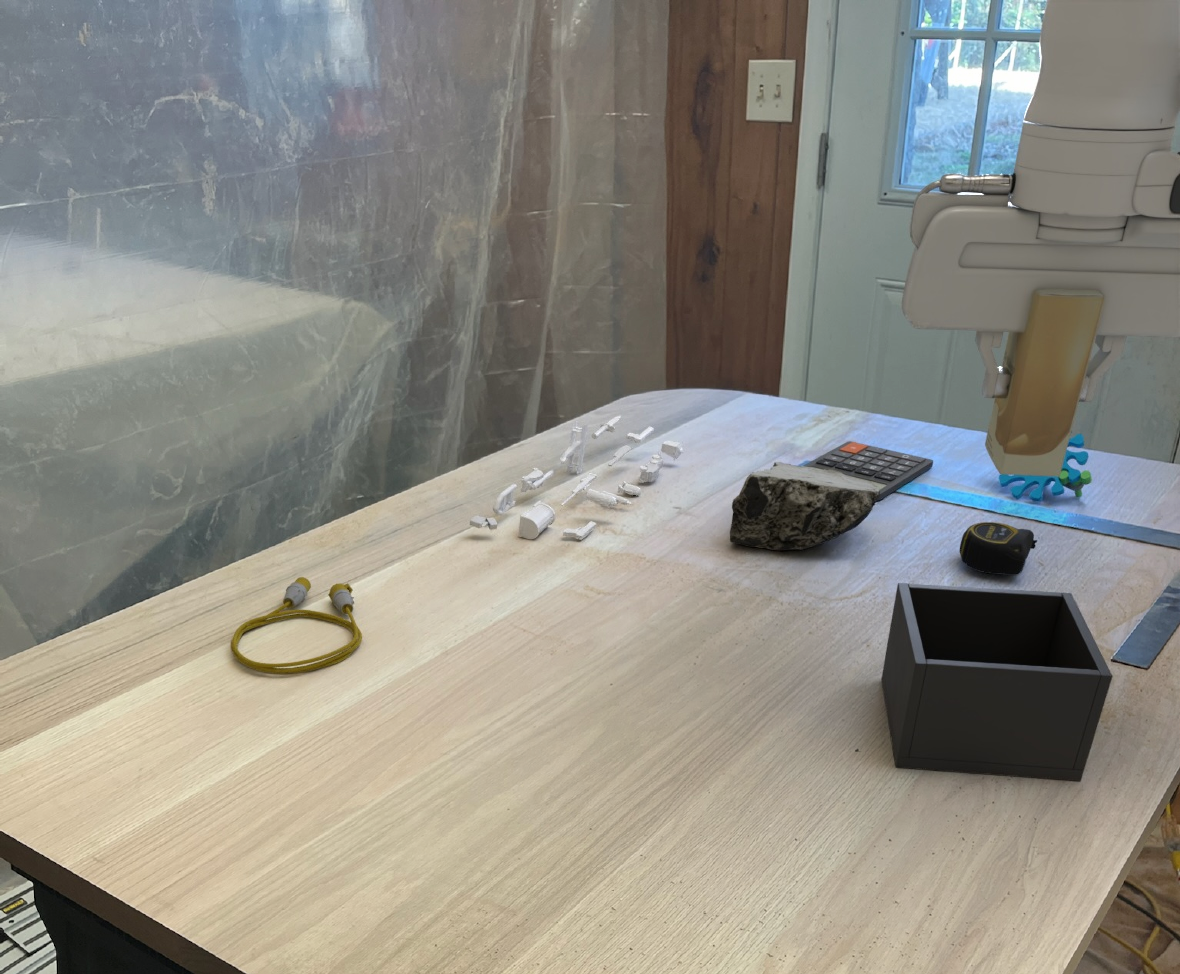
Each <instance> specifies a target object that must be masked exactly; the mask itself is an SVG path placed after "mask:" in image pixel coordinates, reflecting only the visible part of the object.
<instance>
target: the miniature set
mask: <svg viewBox="0 0 1180 974" xmlns="http://www.w3.org/2000/svg"><path fill="white" fill-rule="evenodd" d="M621 417H622V415H621V414H620V415H616V416H615V417H613V418H611V419H610V420H608V421H607V422H606V423H600V428H599V429H598V430H596V431H595V432H593V433H592V434H591V438H592V439H593V440H597V438H598V437H600V436H601V435H602V434H604V433H605V432H608V433H609V432H610V433H614V432H615V431H616V427H615V426H614V425H616V424H617V423H618V422H619V420H620V419H621ZM578 422H579V421H578V420H575V421H574V422H573V424H572V425H571V432H570V440H569V446H568V448H567V449H566V450H565V451H564V452H563V453H562V454H561V456H560V458H559V461H561V465H562V464H565V461H567V468H566V473H568V472H572V469H576V475H579V474H581V473H582V471H583V464H584V458H585V449H586V442H587V441H586V440H587V433H588V425H589V424H588V423H589V422H586V423H584V425H582V427H579V426H578ZM653 432H655V428H654V427H652V426H648V427H647V428H646V429H644V430H643V431H642V432H640V433H633V432H628V433H627V434H626V438H625V439H626V440H627V441H632V442H633V444H640V443H641V442H643V441H644V440H645V439H647V437H648V436H649V435H651V434H652V433H653ZM577 433H580V440H576V439H577ZM633 448H634V447H633V446H631V445H627V444H625V445H623V446H621V447H620V448H619V449H617V451H615V453H614V454H612V456H613V457H614V458H613V459H612V460H611V461H610V462H609V463H608V464H607V466H608V467H612V466H614V465H615V464H616V463H617V462H618V461H619V460H620V459H622V458H623V457H624V456H625V455H626V454H627V453H629V452H630V451H631V450H633ZM577 452H578V459H577V463H575V462H574V457H575V453H577ZM661 453H663V454H665V455H667V456H669V457H671V458H673V462H675V461H676V460H678V458H679V457H680V456H681V455H682V454H684V449H683V440H682V441H680V442H678V441H673V440H664V441H663V442H662V444H661V449H660V452H657V454H653V455H652V459H650V460H649V461H648V462H647V463H646V464H645V465H640V466H639V470H640V476H638V477H637V481H638V483H641V484H644V482H645V483H652V482H654V481H655V480H656V479H657V478H658V477H659V473H660V470H661V469H662V468H663V466H664V457H663V456H661ZM554 474H555V471H554V470H553V469H550V470H549V471H547V472H546V473H545V472H544V473H543V471H542V470H540V469H539V468H538V467H533V468H532V471H531V472H530V473H529V474H527V475H523V476H522V477H521V488H520V492H522V493H526V492H527V491H528V490H533V491H534V490H536V489H540V488H541V487H543V485H544V483H545V482H547V480H548V479H550V478H551V477H552V476H554ZM597 477H598V476H597V474H595V473H592V472H588V473H587V476H586V477H584V478H582V479H580V480H579V483H578V485H577V486H576V487H575V488H574V489H573V490H572V491H571V495H570V496H568V497H567V498H566V499H565V500H564V501H563V502H561V504H560V507H563V506H565V505H566V504H567V503H569V502H570V500H572V499H573V498H574V497H575V496H577V495H578V494H579V493H581V492H582V491H586V489H588V488H589V487H590V486H591V485H592V482H593V481H595V480H596V479H597ZM516 489H517V484H516V483H512V484H511V485H509V486H508V487H506V489H503V491H501V492H500V493H499V494H498V496H497V497H496V499H495V500H494V503H493V506H492V511H493V513H494V514H495V515H496V516H500V517H501V516H503V515H505V514H506V513H507V512H508V511H509V510H510V509H512V508H513V507H514V506H515V505H516V500H514V491H515V490H516ZM620 492H621V493H625V494H627V495H629V496H633V495H636V496H635V497H638V496H637V495H639V496H640V495H641V493H642V489H641V488H640V487H638V486H637V485H633V484H631V483H628V482H627V481H626V480H624V481H622V484H619V485H618V487H617V493H620ZM585 500H586V501H589V502H591V503H594V504H597V505H599V506H603V507H606V508H609V509H612V508H614V507H617V506H618V504H621V505H624V506H627V505H630V506H631V505H632V504H633V503H632V501H630V500H629V499H627V498H625V497H622V496H620V495H617V494H614V493H610V492H608V491H605V490H602V491H598V490H594V489H592V488H589V489H588V490H587V491H586V495H585ZM555 520H556V511H555V510H554V508H553V507H551V506H550V505H549V504H547V503H544V502H543V500H541V499H540V500H538V501H536V503H534V504H533V505H532V507H531V508H530V509H528V510H526V511H524V512H523V513H522V514H521V515H520V516H519V526H518V528H519V529H518V537H519V538H524V539H527V540H535V539H536V538H537V537H538V536H539V535H540V534H541V533H542V532H543V531H544V530H545V529H546V528H548V527H549V526H551V525H552V524H554V522H555ZM469 526H471V527H474V528H477V529H481V528H488V529H489V530H490V531H492V530H497V529H498V522H497V521H496V519H495V517H484V516H481V515H478V514H475V515H474V516H473V517H471V519H470V520H469ZM595 528H597V522H595V521H592V520H590V521H589V522H588V523H587V524H586V525H585V526H581V527H577V528H576V529H573V528H568V527H566V528H565V529H564V530H563V532H562V536H563V537H566V538H575V539H576V540H580V541H582V540H583V539H584V538H585V537H587V536H588V535H589V534H590V533H591V532H592V531H593V530H594V529H595Z"/></svg>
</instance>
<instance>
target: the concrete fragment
mask: <svg viewBox="0 0 1180 974" xmlns="http://www.w3.org/2000/svg"><path fill="white" fill-rule="evenodd" d="M879 493H880V488H879V487H877V486H876V485H874V484H873V483H871V482H870V481H866V480H862V479H858V478H853V477H851V476H847V475H844V474H843V473H842V472H840V471H836V470H831V469H823V470H819V469H816V468H810V467H804V466H803V465H795V464H791V463H786V462H785V463H784V462H782V461H776V462H774V463H773V465H772V466H771V467H770V469H768V468H767V469H763V470H757V471H754V472H751V473H749V474H748V476H747V477H746V479H745V481H744V483H743V486H742V487H741V489H740V492H739V494H738V495H737V496H735V497H734V498H733V500H732V504H731V509H732V516H731V523H730V530H729V541H730V543H732V544H736V545H740V546H745V547H749V548H750V547H751V548H758V549H764V548H765V549H768V550H772V551H791V550H800V551H802V550H805V549H808V548H812V547H814V546H818V545H821V544H824V543H826V542H829V541H831V540H833V539H835V538H838V537H839V536H841V535H843V534H846V533H848V532H851V531H853V530H854V529H855V528H856V527H859V525H860V524H862V523H863V522H864V520H865V519H866V518H868V516H869V515H870V513H871V512H872V510H873V508H874V506H875V504H876V503H877V501H878V500H877V499H878V497H879Z"/></svg>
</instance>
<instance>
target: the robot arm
mask: <svg viewBox="0 0 1180 974" xmlns="http://www.w3.org/2000/svg"><path fill="white" fill-rule="evenodd" d="M1039 33H1040V34H1039V57H1040V58H1039V59H1040V63H1039V64H1040V65H1039V72H1038V73H1039V74H1038V78H1037V82H1036V86H1035V89H1034V92H1033V94H1032V97H1031V98H1030V101H1029V103H1028V105H1027V107H1026V109H1025V113H1024V117H1023V121H1022V125H1021V126H1022V127H1021V132H1020V138H1019V143H1018V147H1017V148H1018V149H1017V153H1016V157H1015V158H1016V159H1015V163H1014V168H1013V173H1012V174H1007V173H1005V174H998V173H997V174H993V173H991V174H990V173H989V174H987V173H986V174H980V175H979V174H975V175H964V174H963V173H962V174H961V173H946V174H942V175H941V177H940V179H939V180H935V181H932V182H930V183H928V184H927V185H925V186H924V187H923V188H922V189H921V190H920V191H919V193H918V194H917V196H916V197H915V200H914V202H913V204H912V210H911V216H910V217H911V218H910V223H909V235H910V236H909V237H910V239H911V243H912V245H914V249H913V252H912V256H911V259H910V263H909V266H908V270H907V274H906V279H905V282H904V287H903V291H902V292H903V293H902V298H901V310H902V313H903V316H904V317H905V319H906V320H907V322H908V323H909V324H910V326H912V327H913V328H914V329H916V330H917V329H918V330H941V331H942V330H943V331H969V332H975V333H976V334H975V338H974V341H975V344H976V347H977V350H978V353H979V355H980V358H981V360H982V364H983V367H984V368H985V372H984V377H983V381H982V387H981V388H982V389H981V394H982V396H983V398H984V399H995V398H1002V399H1006V397H1007V395H1008V389H1007V387H1008V385H1009V384H1010V380H1011V375H1012V374H1011V373H1010V372H1009V370H1008V368H1006V367H1002V366H998V364H997V361H996V359H995V355H994V352H993V350H992V349H1000V348H1001V346H1002V341H1003V336H1004V333H1009V332H1023V333H1024V332H1025V330H1026V326H1027V322H1028V318H1029V313H1030V308H1031V303H1032V298H1033V294H1034V290H1035V291H1036V290H1043V289H1079V290H1097V291H1099V292H1101V293H1103V294H1104V295H1105V296H1106V298H1105V302H1104V306H1103V310H1102V314H1101V318H1100V321H1099V325H1098V329H1097V333H1096V337H1095V341H1094V344H1095V345H1096V346H1097V347H1098V350H1097V352H1096V353H1095V354H1094V356H1093V357H1092V358H1090V361H1089V364H1088V368H1087V372H1086V376H1085V380H1084V384H1083V388H1082V392H1081V395H1080V399H1079V403H1092V402H1093V399H1094V396H1095V392H1096V389H1097V385H1098V381H1099V379H1100V378H1102V376H1103V375H1104V374H1105V373H1106V372H1107V371H1108V370H1109V369H1110V368H1111V366H1112V365H1113V364H1114V363H1115V362H1116V361H1117V360H1118V359H1119V357H1121V355H1122V354H1123V352H1124V348H1125V344H1126V340H1127V337H1136V338H1137V337H1139V338H1140V337H1143V338H1172V339H1173V338H1174V339H1180V151H1178V152H1177V153H1176V152H1173V151H1172V145H1171V144H1172V140H1173V137H1174V133H1175V130H1176V129H1175V128H1176V125H1177V121H1178V118H1179V117H1178V116H1179V113H1180V0H1046V3H1045V7H1044V13H1043V18H1042V22H1041V28H1040V32H1039ZM938 188H939V189H938ZM934 189H938V190H939V192H934V191H933V192H932V190H934Z"/></svg>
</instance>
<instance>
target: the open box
mask: <svg viewBox="0 0 1180 974" xmlns="http://www.w3.org/2000/svg"><path fill="white" fill-rule="evenodd" d="M892 609H893V610H892V616H891V619H890V620H891V621H890V625H889V632H888V638H887V643H886V650H885V656H884V661H883V667H882V673H881V686H882V692H883V698H884V705H885V710H886V716H887V717H886V718H887V723H888V729H889V735H890V740H891V747H892V753H893V759H894V766H895V768H896V769H897V768H901V769H911V770H925V771H940V772H954V773H964V774H965V773H966V774H968V773H969V774H979V775H980V774H981V775H992V776H993V775H995V776H1005V777H1007V776H1008V777H1021V778H1033V779H1046V780H1047V779H1048V780H1049V779H1050V780H1060V781H1061V780H1062V781H1076V782H1081V780H1082V778H1083V775H1084V772H1085V768H1086V765H1087V762H1088V759H1089V755H1090V752H1091V749H1092V746H1093V742H1094V739H1095V735H1096V732H1097V729H1098V726H1099V722H1100V719H1101V716H1102V713H1103V710H1104V706H1105V703H1106V699H1107V696H1108V694H1109V689H1110V687H1111V684H1112V680H1113V674H1112V671H1111V670H1110V667H1109V666H1108V664H1107V662H1106V660H1105V658H1104V656H1103V653H1102V652H1101V650H1100V648H1099V645H1098V644H1097V642H1096V640H1095V638H1094V636H1093V634H1092V632H1091V629H1090V627H1089V626H1088V624H1087V622H1086V620H1085V618H1084V616H1083V614H1082V611H1081V610H1080V608H1079V606H1078V603H1077V602H1076V599H1075V598H1074V596H1073V594H1072V593H1071V592H1058V591H1043V590H1042V591H1041V590H1023V589H1009V588H1008V589H1006V588H990V587H988V588H987V587H972V586H971V587H970V586H957V585H955V586H954V585H938V584H937V585H936V584H923V583H922V584H921V583H920V584H919V583H907V582H898V583H897V586H896V591H895V597H894V603H893V608H892Z"/></svg>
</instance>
